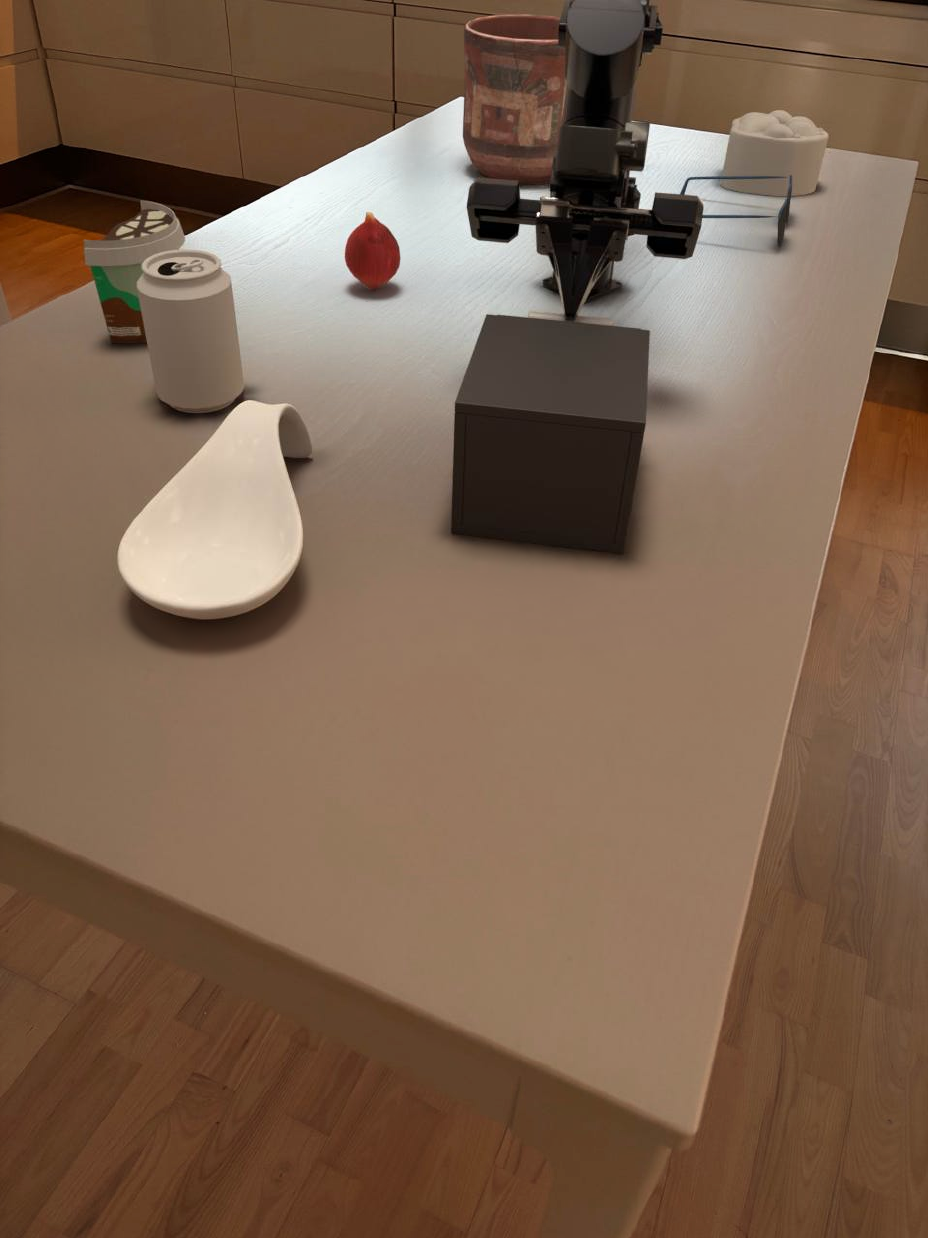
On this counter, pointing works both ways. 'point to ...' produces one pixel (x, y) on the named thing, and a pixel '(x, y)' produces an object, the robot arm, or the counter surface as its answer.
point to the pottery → (513, 96)
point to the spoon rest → (222, 520)
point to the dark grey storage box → (550, 433)
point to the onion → (372, 253)
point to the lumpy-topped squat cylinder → (774, 154)
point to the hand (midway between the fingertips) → (570, 318)
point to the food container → (130, 266)
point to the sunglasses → (782, 215)
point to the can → (191, 330)
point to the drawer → (578, 320)
